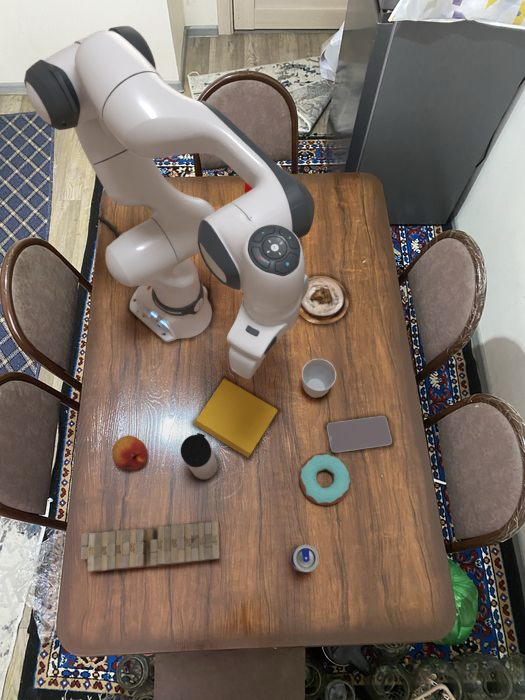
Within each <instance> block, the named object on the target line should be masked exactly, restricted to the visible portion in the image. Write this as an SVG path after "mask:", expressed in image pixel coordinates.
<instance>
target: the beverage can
mask: <svg viewBox="0 0 525 700" xmlns="http://www.w3.org/2000/svg"><path fill="white" fill-rule="evenodd" d="M319 561H320V557H319V553H318V551H317V549H316V548H315V547H314V546H313V545H310V544H301V545H299V546H297V547H296V548H294V549H293V550H292V551H291V553H290V555H289V563H290V566H291V567H292V569H293V570H295V571H296V572H299V573H310V572H312V571H314V570H315V569H316V568H317V567H318V565H319Z"/></svg>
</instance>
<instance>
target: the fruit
mask: <svg viewBox="0 0 525 700" xmlns="http://www.w3.org/2000/svg"><path fill="white" fill-rule="evenodd" d="M111 450H112V451H111V452H112V455H111V456H112V460H113V463H114V464H115V466H117V467H119V468H121V469H126V470H136V469H139V468H140V467H142V466H144V465H145V464H146V462H147V460H148V456H149V455H148V453H149V452H148V449H147V446H146V445H145V443H144V442H143V441H142V440H140V439H139V438H138V437H136V436H133V435H125V436H122V437H120V438H119V439H117V440H116V441H115V443H114V444H113V447H112V449H111Z"/></svg>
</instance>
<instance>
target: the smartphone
mask: <svg viewBox="0 0 525 700" xmlns="http://www.w3.org/2000/svg"><path fill="white" fill-rule="evenodd" d="M326 432H327V438H328V442H329V447H330V451H331V452H332V453H333V454H339V453H346V452H353V451H359V450H367V449H374V448H381V447H388V446H390V445H391V444H392V442H393V439H392V435H391V431H390V428H389V423H388V420H387V417H386V416H384V415H378V416H371V417H370V416H369V417H363V418H362V417H361V418H356V419H349V420H342V421H335V422H329V423H328V424H327V425H326Z"/></svg>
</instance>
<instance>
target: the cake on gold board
mask: <svg viewBox="0 0 525 700" xmlns="http://www.w3.org/2000/svg"><path fill="white" fill-rule="evenodd" d="M308 278H309V286H308V291H307V293H306V295H305V297H304V298H303V300H302V301H301V305H300V312H299V316H301V317H302V318H303V319H304V320H305V321H308V322H309V323H311V324H314V325H315V324H316V325H329V324H332V323H335V322H337V321H338V320H340V319H341V318H342V317H343V316H344V315H345V314H346V312H347V310H348V307H349V295H348V293H347V290H346V289H345V287H344V286H343V284H341V283H340V282H339V281H337V280H336V279H334V278H332V277H330V276H326V275H313V276H310V277H309V276H308Z"/></svg>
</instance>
